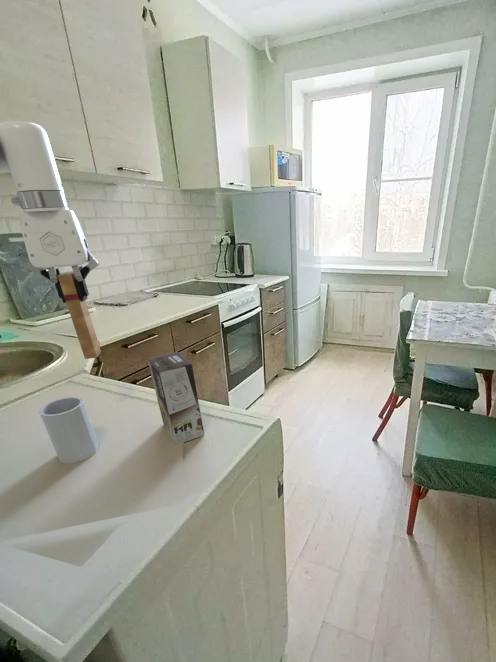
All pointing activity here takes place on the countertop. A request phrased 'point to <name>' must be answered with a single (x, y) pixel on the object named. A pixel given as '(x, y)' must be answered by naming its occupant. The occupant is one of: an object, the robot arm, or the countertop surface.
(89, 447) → the light gray cup
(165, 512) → the countertop surface
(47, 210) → the robot arm
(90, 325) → the chopstick bundle
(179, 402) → the coffee box
